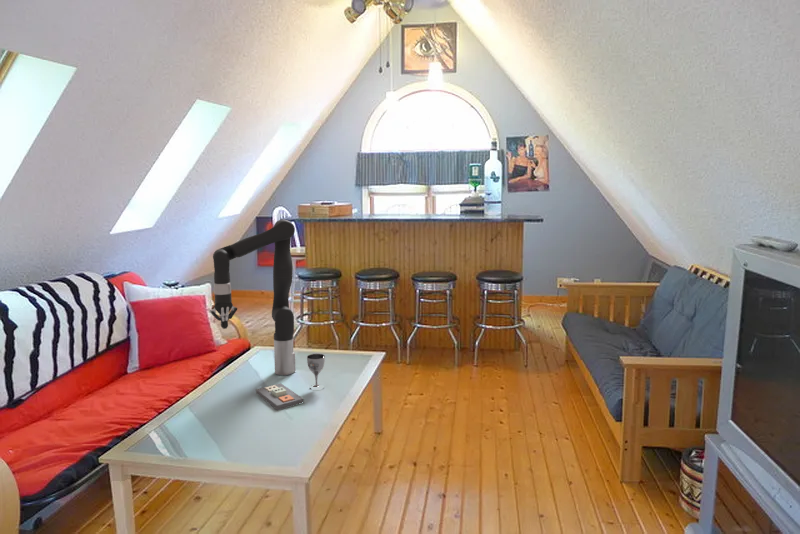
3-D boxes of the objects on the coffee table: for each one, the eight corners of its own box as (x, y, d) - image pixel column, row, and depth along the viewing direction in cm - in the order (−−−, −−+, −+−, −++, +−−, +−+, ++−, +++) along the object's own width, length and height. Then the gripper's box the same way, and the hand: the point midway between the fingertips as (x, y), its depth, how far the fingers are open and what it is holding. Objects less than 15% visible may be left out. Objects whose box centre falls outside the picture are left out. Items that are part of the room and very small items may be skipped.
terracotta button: (289, 399, 240) (288, 394, 240) (294, 403, 236) (293, 397, 236) (278, 402, 237) (278, 396, 237) (283, 406, 234) (283, 400, 233)
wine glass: (304, 389, 252) (303, 357, 250) (313, 383, 260) (312, 352, 257) (319, 392, 249) (319, 360, 247) (328, 385, 257) (327, 354, 254)
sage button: (281, 392, 245) (281, 386, 245) (286, 395, 242) (286, 389, 241) (271, 394, 243) (271, 389, 242) (276, 398, 239) (276, 392, 238)
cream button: (275, 390, 251) (274, 384, 251) (279, 393, 247) (279, 387, 247) (265, 392, 248) (264, 387, 248) (269, 395, 245) (269, 390, 244)
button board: (280, 387, 255) (280, 383, 254) (303, 403, 237) (303, 398, 237) (256, 393, 247) (255, 389, 247) (277, 410, 230) (277, 405, 230)
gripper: (233, 289, 264) (235, 324, 267) (205, 292, 256) (207, 328, 259) (239, 291, 259) (241, 327, 261) (211, 295, 251) (213, 332, 253)
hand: (224, 328), depth 260 cm, fingers closed
